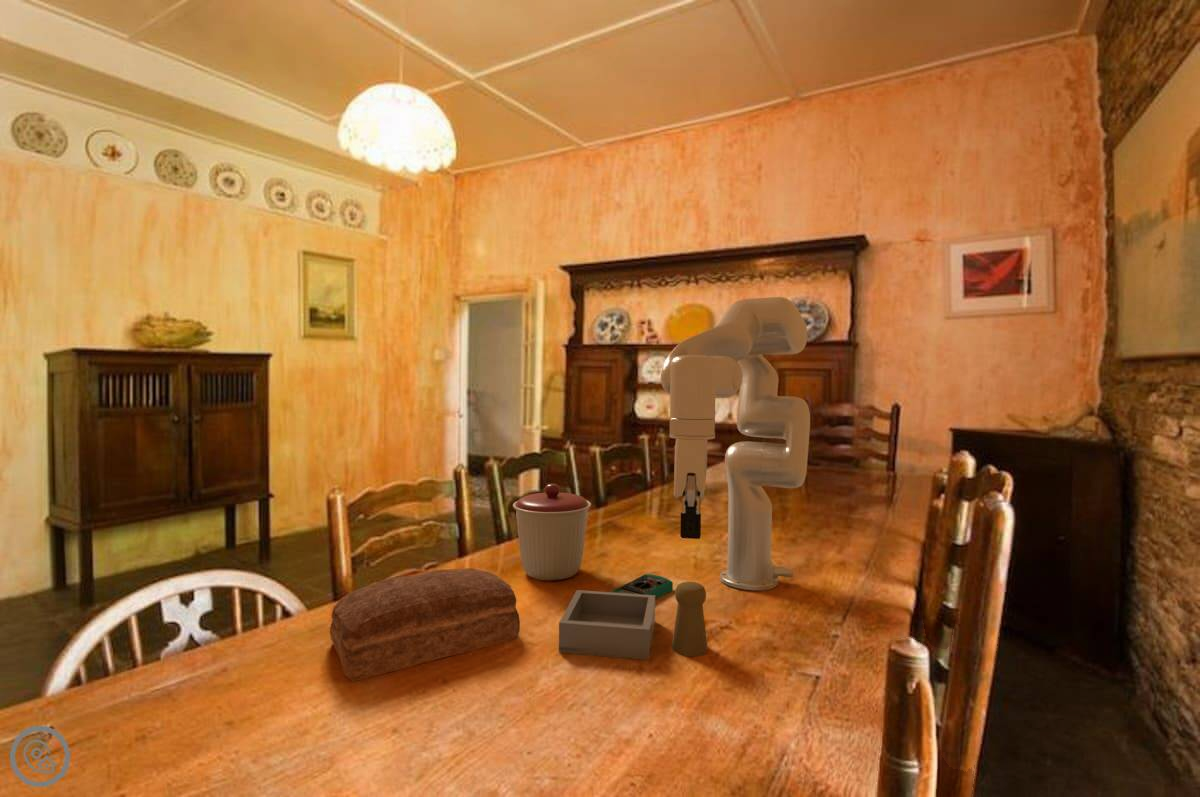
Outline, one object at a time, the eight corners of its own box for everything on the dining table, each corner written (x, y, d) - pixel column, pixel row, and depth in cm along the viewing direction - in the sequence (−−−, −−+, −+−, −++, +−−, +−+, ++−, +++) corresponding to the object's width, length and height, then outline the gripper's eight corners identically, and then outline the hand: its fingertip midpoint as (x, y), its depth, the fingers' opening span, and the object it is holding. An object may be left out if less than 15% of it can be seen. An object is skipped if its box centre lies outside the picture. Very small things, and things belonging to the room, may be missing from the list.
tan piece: (668, 640, 101) (669, 578, 100) (702, 639, 101) (703, 577, 101) (675, 657, 95) (676, 590, 94) (712, 655, 95) (713, 590, 95)
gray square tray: (654, 621, 108) (655, 595, 108) (649, 660, 94) (649, 629, 93) (576, 615, 111) (576, 590, 111) (558, 652, 96) (559, 622, 96)
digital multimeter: (674, 591, 125) (674, 578, 125) (637, 613, 113) (637, 598, 113) (645, 584, 130) (646, 571, 130) (607, 604, 118) (607, 590, 118)
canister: (573, 591, 123) (574, 493, 122) (498, 581, 129) (498, 488, 128) (600, 566, 140) (601, 479, 140) (533, 558, 146) (533, 475, 145)
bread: (327, 643, 99) (326, 577, 99) (488, 607, 115) (488, 551, 115) (344, 688, 85) (344, 612, 84) (526, 640, 101) (526, 575, 101)
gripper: (671, 424, 106) (670, 517, 106) (667, 433, 89) (665, 543, 89) (713, 425, 105) (711, 519, 105) (717, 434, 88) (715, 546, 88)
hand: (690, 530), depth 97 cm, fingers open, 9 cm apart
